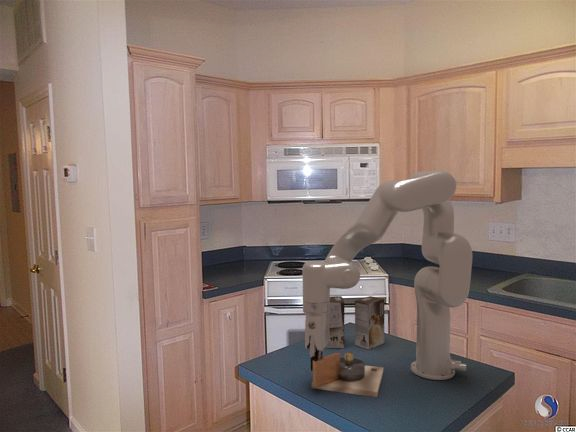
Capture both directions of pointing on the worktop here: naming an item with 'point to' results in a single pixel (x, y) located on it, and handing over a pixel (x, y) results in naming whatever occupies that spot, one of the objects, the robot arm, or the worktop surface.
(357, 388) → the dial board
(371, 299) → the coffee box
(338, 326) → the coffee box
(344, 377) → the cam dial
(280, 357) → the worktop surface
